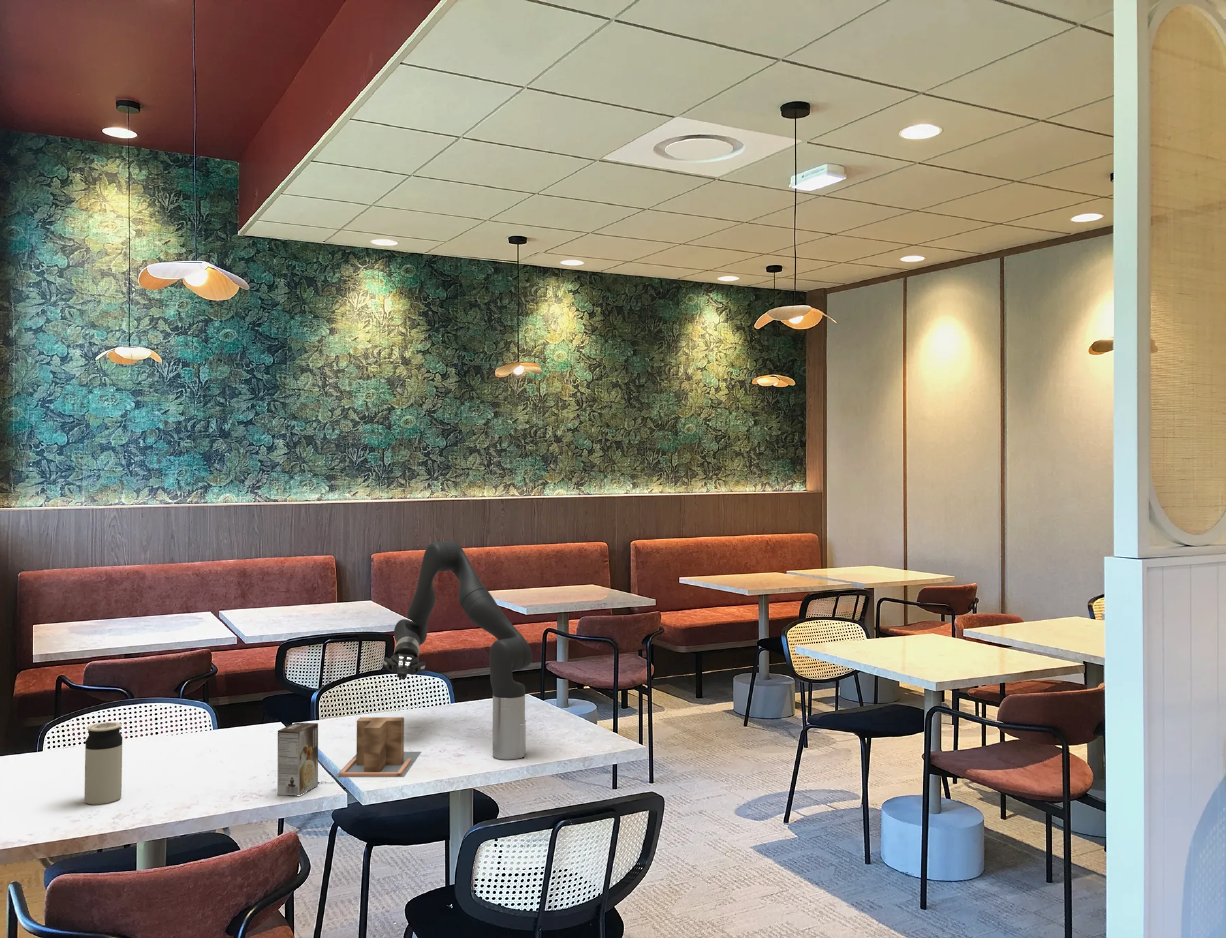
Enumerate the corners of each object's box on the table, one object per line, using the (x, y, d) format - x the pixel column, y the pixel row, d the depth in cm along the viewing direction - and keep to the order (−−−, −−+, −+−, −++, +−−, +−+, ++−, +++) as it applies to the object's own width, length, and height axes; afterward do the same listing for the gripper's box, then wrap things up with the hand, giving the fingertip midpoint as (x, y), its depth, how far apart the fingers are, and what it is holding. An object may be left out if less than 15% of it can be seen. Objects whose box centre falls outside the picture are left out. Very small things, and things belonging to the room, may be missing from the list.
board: (421, 755, 275) (421, 748, 275) (404, 780, 250) (404, 773, 250) (358, 755, 274) (358, 748, 274) (334, 781, 249) (334, 774, 250)
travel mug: (127, 794, 238) (128, 721, 238) (111, 805, 230) (112, 729, 230) (94, 795, 237) (95, 721, 238) (77, 805, 230) (79, 729, 230)
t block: (403, 761, 265) (404, 717, 265) (394, 773, 253) (394, 727, 253) (360, 761, 265) (360, 717, 265) (348, 773, 253) (349, 727, 253)
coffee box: (295, 784, 246) (296, 721, 247) (318, 786, 245) (319, 722, 246) (276, 795, 237) (277, 730, 238) (299, 797, 236) (300, 731, 237)
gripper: (386, 638, 294) (380, 661, 277) (429, 643, 296) (426, 667, 279) (383, 661, 295) (376, 685, 278) (426, 666, 297) (422, 690, 280)
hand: (401, 676), depth 279 cm, fingers closed
